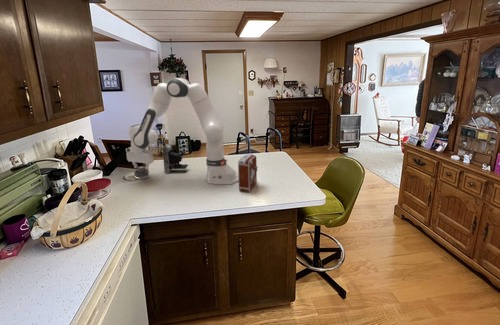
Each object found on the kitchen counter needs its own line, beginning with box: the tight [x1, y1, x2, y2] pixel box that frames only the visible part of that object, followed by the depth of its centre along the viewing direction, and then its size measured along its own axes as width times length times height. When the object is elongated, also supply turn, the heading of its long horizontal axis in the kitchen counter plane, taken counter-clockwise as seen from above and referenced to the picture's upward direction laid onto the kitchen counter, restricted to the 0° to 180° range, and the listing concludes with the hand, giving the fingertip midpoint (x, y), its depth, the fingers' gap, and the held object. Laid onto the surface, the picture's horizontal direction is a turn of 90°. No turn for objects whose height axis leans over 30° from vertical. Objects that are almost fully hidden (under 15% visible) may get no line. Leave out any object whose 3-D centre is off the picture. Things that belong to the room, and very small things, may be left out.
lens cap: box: [136, 165, 146, 173], centre depth 196 cm, size 5×5×5 cm
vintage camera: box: [162, 143, 189, 174], centre depth 205 cm, size 10×16×20 cm, turn 89°
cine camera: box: [237, 153, 259, 193], centre depth 174 cm, size 9×19×20 cm, turn 161°
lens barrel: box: [133, 169, 150, 180], centre depth 196 cm, size 9×9×4 cm
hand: (141, 168), depth 195 cm, fingers open, 8 cm apart
